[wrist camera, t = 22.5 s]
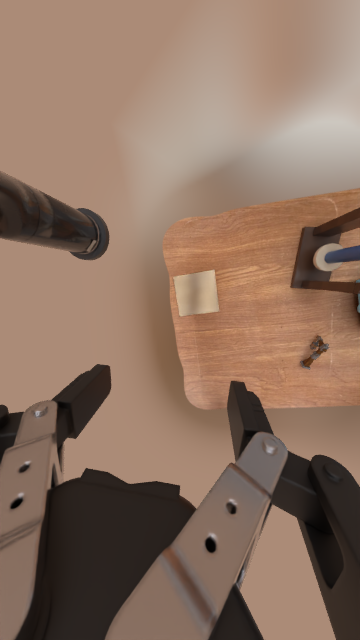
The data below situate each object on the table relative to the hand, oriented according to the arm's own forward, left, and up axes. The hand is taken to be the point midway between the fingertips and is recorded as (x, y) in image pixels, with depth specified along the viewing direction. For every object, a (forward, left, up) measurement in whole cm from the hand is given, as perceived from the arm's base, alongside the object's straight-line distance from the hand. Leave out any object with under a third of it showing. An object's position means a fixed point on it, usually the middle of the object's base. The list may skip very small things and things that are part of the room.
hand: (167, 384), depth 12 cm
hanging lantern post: (+29, +6, -35) cm, 46 cm away
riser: (-2, +4, -35) cm, 35 cm away
